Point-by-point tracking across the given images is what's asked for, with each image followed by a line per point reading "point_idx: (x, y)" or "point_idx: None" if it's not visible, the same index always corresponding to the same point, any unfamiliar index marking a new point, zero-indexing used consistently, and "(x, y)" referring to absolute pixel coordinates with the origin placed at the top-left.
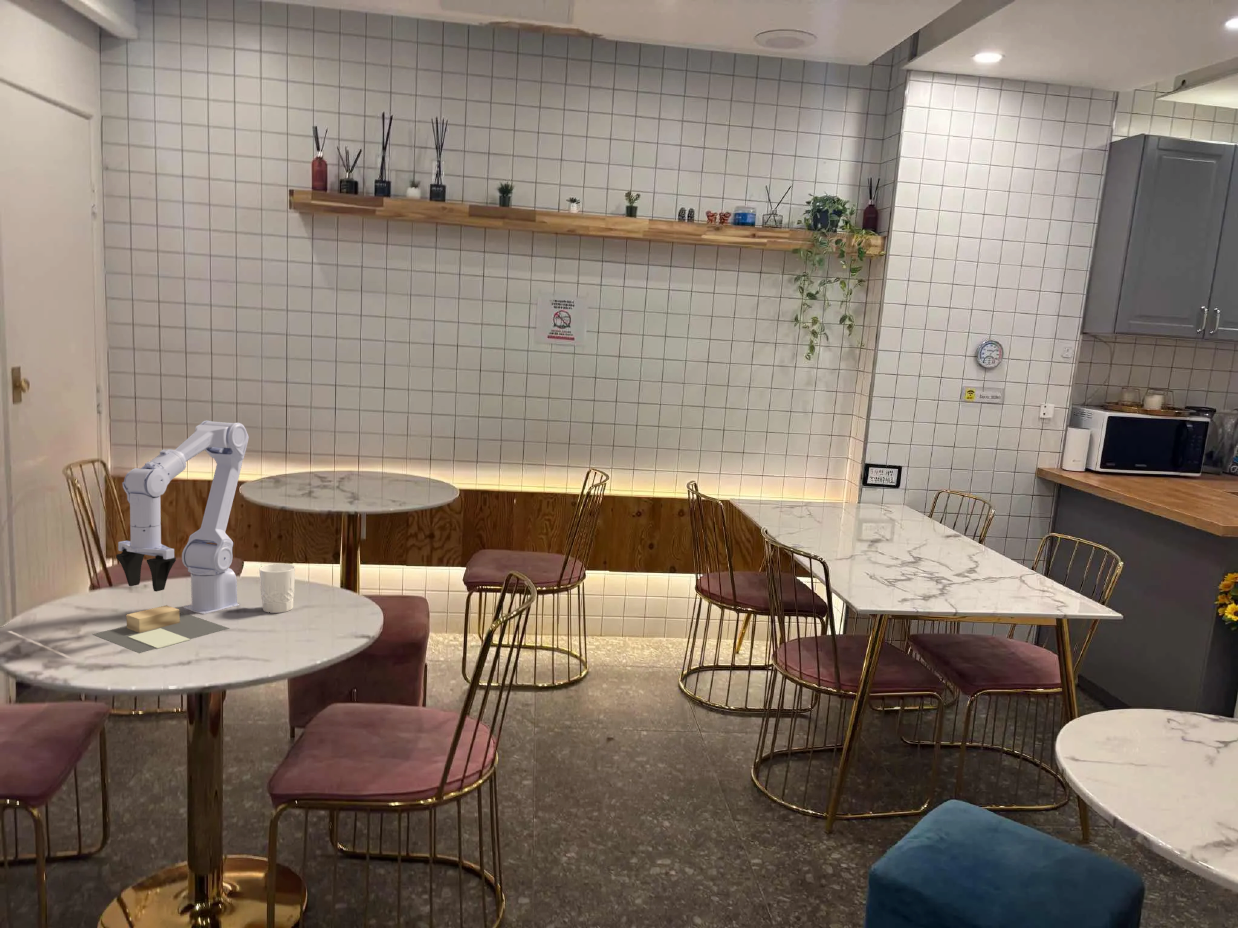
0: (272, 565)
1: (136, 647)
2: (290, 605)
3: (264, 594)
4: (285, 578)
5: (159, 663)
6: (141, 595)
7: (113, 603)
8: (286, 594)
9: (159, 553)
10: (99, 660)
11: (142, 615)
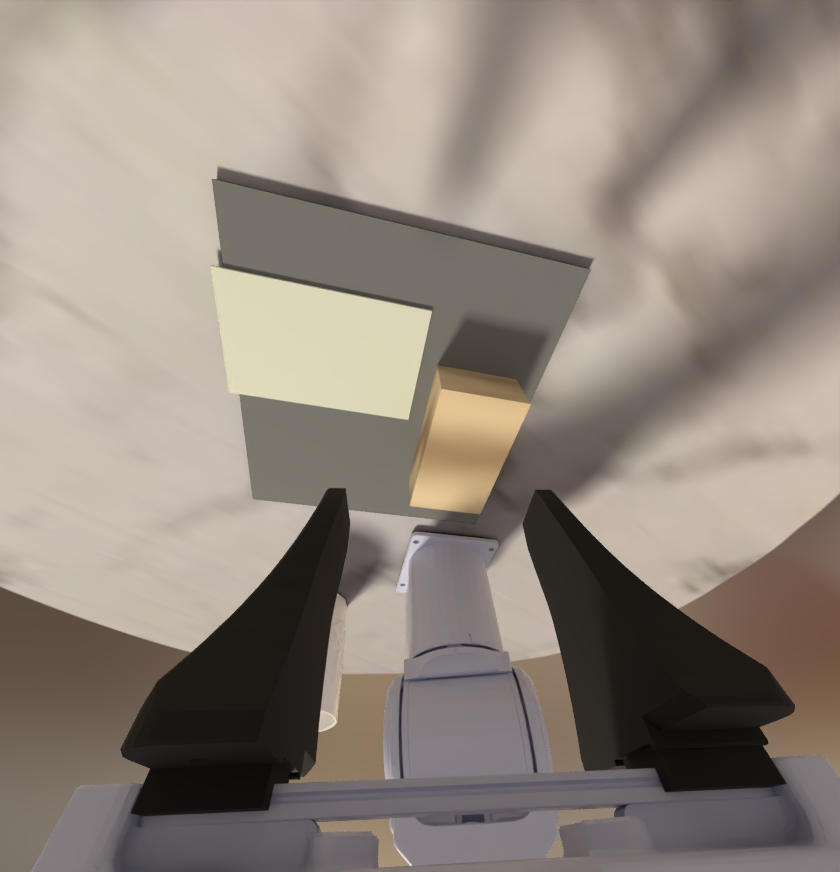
0: (331, 722)
1: (294, 232)
2: None
3: None
4: None
5: (23, 128)
6: (665, 555)
7: (705, 502)
8: None
9: (233, 846)
10: None
11: (467, 422)
